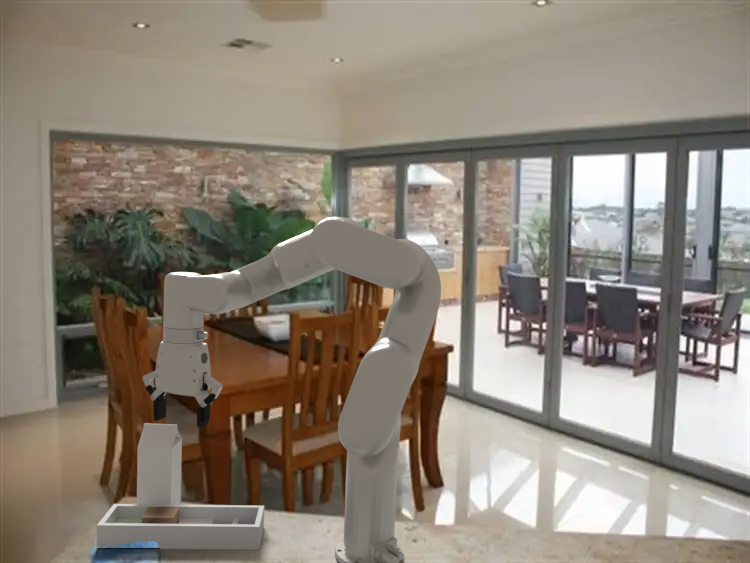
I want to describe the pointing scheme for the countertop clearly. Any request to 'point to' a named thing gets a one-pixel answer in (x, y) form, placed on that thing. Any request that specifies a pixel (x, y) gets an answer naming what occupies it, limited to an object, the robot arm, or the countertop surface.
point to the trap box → (186, 527)
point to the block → (161, 515)
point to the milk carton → (159, 465)
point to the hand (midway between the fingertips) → (181, 422)
